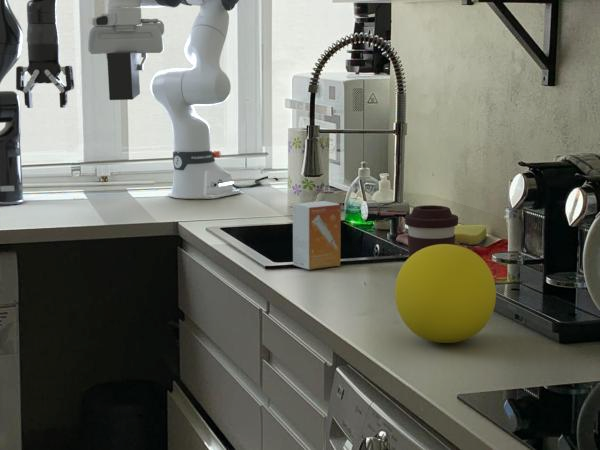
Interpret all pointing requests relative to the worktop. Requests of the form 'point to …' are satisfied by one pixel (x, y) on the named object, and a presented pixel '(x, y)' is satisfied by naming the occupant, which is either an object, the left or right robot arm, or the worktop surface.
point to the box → (123, 75)
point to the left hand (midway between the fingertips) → (46, 107)
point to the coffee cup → (430, 227)
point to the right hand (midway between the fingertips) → (127, 70)
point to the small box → (316, 234)
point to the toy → (445, 293)
